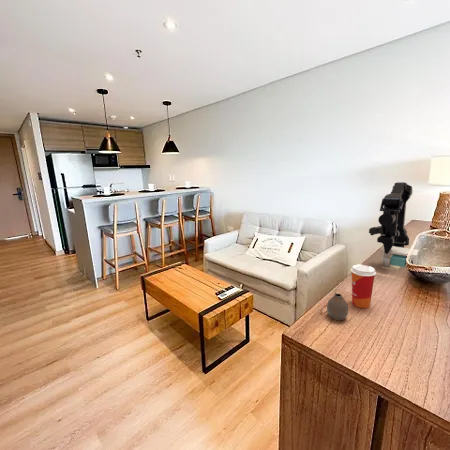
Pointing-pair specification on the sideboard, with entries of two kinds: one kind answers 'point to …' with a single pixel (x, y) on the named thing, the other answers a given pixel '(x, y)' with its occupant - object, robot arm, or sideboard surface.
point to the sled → (387, 262)
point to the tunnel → (404, 253)
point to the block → (398, 260)
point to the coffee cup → (362, 285)
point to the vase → (337, 307)
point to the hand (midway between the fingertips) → (387, 252)
